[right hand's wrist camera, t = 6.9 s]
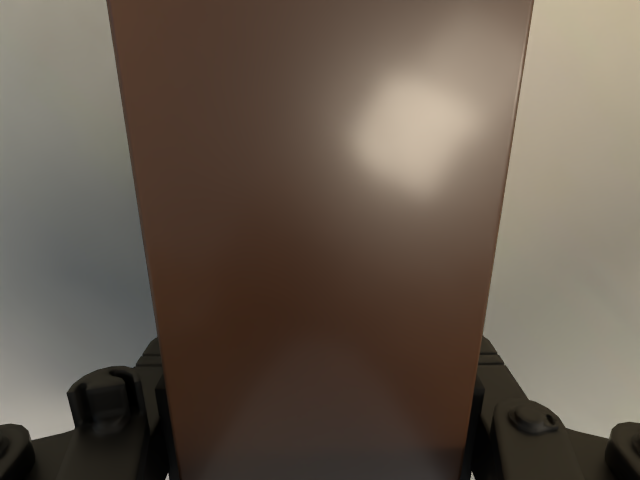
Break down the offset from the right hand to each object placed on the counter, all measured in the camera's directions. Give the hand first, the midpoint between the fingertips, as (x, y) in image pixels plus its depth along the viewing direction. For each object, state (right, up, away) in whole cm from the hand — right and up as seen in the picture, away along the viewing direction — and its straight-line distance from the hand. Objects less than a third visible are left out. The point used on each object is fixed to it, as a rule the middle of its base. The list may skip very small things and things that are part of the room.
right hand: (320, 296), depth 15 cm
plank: (0, +12, -4) cm, 13 cm away
